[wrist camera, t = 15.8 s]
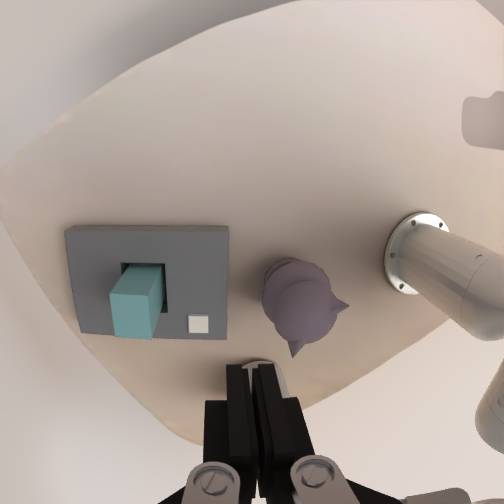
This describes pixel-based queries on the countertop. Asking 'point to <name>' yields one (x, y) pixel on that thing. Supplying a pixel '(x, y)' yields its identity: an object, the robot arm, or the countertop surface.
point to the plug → (138, 300)
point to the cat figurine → (299, 302)
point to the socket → (153, 251)
